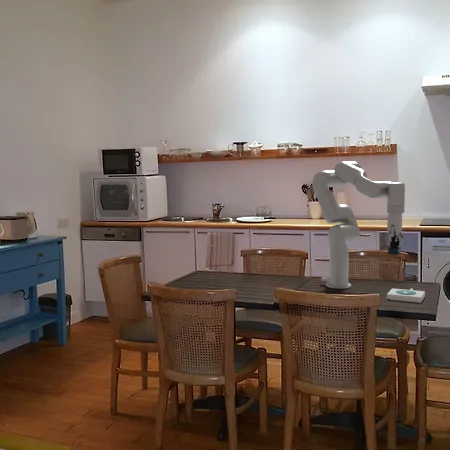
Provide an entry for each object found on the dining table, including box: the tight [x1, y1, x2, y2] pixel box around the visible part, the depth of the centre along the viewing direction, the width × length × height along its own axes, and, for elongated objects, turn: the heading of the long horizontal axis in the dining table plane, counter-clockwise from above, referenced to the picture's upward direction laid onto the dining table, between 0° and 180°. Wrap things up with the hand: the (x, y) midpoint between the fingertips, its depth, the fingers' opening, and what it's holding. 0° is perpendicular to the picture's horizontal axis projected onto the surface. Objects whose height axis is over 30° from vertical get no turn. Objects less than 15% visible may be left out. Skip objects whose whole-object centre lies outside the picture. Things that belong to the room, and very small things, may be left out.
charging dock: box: [386, 288, 426, 304], centre depth 274 cm, size 15×24×3 cm, turn 154°
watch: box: [385, 231, 405, 256], centre depth 265 cm, size 6×8×11 cm
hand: (394, 249), depth 265 cm, fingers closed on watch, 3 cm apart
